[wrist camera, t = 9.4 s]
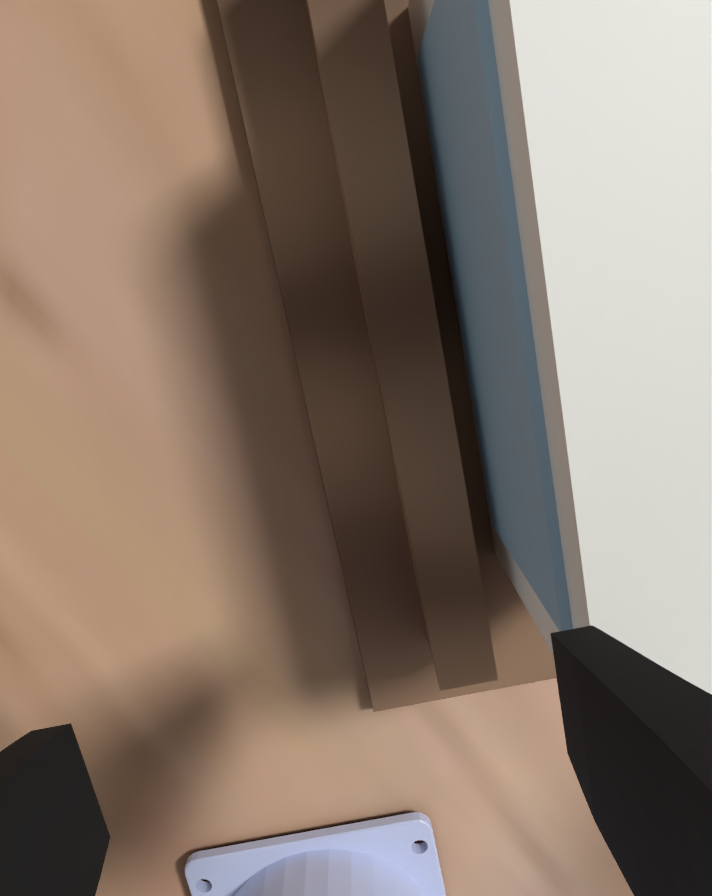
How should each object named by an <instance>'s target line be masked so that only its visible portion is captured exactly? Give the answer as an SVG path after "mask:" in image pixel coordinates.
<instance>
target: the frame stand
mask: <svg viewBox="0 0 712 896" xmlns="http://www.w3.org/2000/svg"><path fill="white" fill-rule="evenodd" d="M408 3H409V0H217V4H218V9H219V13H220V18H221V22H222V27H223V31H224V36H225V40H226V45H227V49H228V54H229V59H230V63H231V68H232V72H233V77H234V81H235V86H236V90H237V95H238V99H239V104H240V108H241V113H242V117H243V122H244V126H245V131H246V135H247V140H248V145H249V149H250V154H251V158H252V163H253V167H254V172H255V176H256V181H257V185H258V190H259V194H260V199H261V203H262V208H263V212H264V217H265V222H266V226H267V231H268V235H269V240H270V244H271V249H272V253H273V258H274V262H275V267H276V271H277V276H278V280H279V285H280V289H281V294H282V298H283V303H284V308H285V312H286V317H287V321H288V326H289V330H290V335H291V339H292V344H293V348H294V353H295V357H296V362H297V366H298V371H299V375H300V380H301V384H302V389H303V394H304V398H305V403H306V407H307V412H308V416H309V421H310V425H311V430H312V434H313V439H314V443H315V448H316V452H317V457H318V461H319V466H320V471H321V475H322V480H323V484H324V489H325V493H326V498H327V502H328V507H329V511H330V516H331V520H332V525H333V529H334V534H335V538H336V543H337V547H338V552H339V557H340V561H341V566H342V570H343V575H344V579H345V584H346V588H347V593H348V597H349V602H350V606H351V611H352V615H353V620H354V624H355V629H356V633H357V638H358V643H359V647H360V652H361V656H362V661H363V665H364V670H365V674H366V679H367V683H368V688H369V692H370V697H371V701H372V706H373V710H374V712H375V711H381V710H386V709H391V708H397V707H402V706H407V705H413V704H418V703H423V702H429V701H434V700H440V699H445V698H450V697H456V696H461V695H466V694H472V693H477V692H482V691H488V690H493V689H499V688H504V687H509V686H515V685H520V684H525V683H531V682H536V681H542V680H547V679H552V678H557V675H556V668H555V662H554V655H553V654H552V652H551V650H550V648H549V647H548V645H547V643H546V641H545V640H544V638H543V636H542V634H541V633H540V631H539V629H538V627H537V626H536V624H535V622H534V620H533V619H532V617H531V615H530V614H529V612H528V610H527V608H526V607H525V605H524V603H523V601H522V600H521V598H520V596H519V594H518V593H517V591H516V589H515V587H514V586H513V584H512V582H511V580H510V579H509V577H508V575H507V574H506V572H505V570H504V568H503V567H502V565H501V563H500V561H499V560H498V558H497V556H496V553H495V546H494V540H493V534H492V528H491V522H490V515H489V509H488V503H487V497H486V490H485V484H484V478H483V472H482V466H481V459H480V453H479V447H478V441H477V435H476V428H475V422H474V416H473V410H472V404H471V397H470V391H469V385H468V379H467V372H466V366H465V360H464V354H463V348H462V341H461V335H460V329H459V323H458V317H457V310H456V304H455V298H454V292H453V286H452V279H451V273H450V267H449V261H448V254H447V248H446V242H445V236H444V230H443V223H442V217H441V211H440V205H439V199H438V192H437V186H436V180H435V174H434V168H433V161H432V155H431V149H430V143H429V136H428V130H427V124H426V118H425V112H424V105H423V99H422V93H421V87H420V81H419V74H418V68H417V62H416V56H415V50H414V43H413V37H412V31H411V25H410V18H409V12H408Z"/></svg>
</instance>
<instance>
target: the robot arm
mask: <svg viewBox="0 0 712 896" xmlns="http://www.w3.org/2000/svg"><path fill="white" fill-rule="evenodd" d="M550 634H551V641H552V648H553V655H554V662H555V668H556V675H557V682H558V689H559V696H560V703H561V710H562V717H563V724H564V731H565V738H566V745H567V752H568V755H569V758H570V760H571V763H572V765H573V768H574V770H575V773H576V776H577V778H578V781H579V783H580V786H581V788H582V791H583V793H584V796H585V798H586V801H587V803H588V806H589V808H590V810H591V813H592V815H593V818H594V820H595V822H596V824H597V826H598V828H599V830H600V832H601V834H602V836H603V838H604V840H605V842H606V843H607V845H608V847H609V849H610V851H611V853H612V855H613V857H614V859H615V860H616V862H617V864H618V866H619V868H620V870H621V872H622V874H623V876H624V877H625V879H626V881H627V883H628V885H629V887H630V889H631V891H632V892H633V894H634V896H712V694H710V693H708V692H706V691H704V690H702V689H701V688H699V687H697V686H695V685H693V684H692V683H690V682H688V681H686V680H685V679H683V678H681V677H679V676H677V675H676V674H674V673H672V672H671V671H669V670H667V669H665V668H664V667H662V666H660V665H659V664H657V663H655V662H654V661H652V660H650V659H648V658H647V657H645V656H643V655H642V654H640V653H638V652H637V651H635V650H633V649H632V648H630V647H628V646H627V645H625V644H623V643H622V642H620V641H618V640H617V639H615V638H613V637H612V636H610V635H608V634H607V633H605V632H603V631H602V630H600V629H598V628H596V627H594V626H592V625H591V626H586V627H580V628H575V629H570V630H565V631H559V632H554V633H550ZM109 839H110V835H109V832H108V829H107V826H106V823H105V820H104V818H103V815H102V812H101V809H100V806H99V803H98V800H97V797H96V794H95V792H94V789H93V786H92V783H91V780H90V777H89V774H88V771H87V768H86V766H85V763H84V760H83V757H82V754H81V751H80V748H79V745H78V742H77V740H76V737H75V734H74V731H73V728H72V725H71V724H66V725H61V726H55V727H50V728H45V729H39V730H34V731H31V732H29V733H28V734H26V735H24V736H23V737H21V738H20V739H18V740H17V741H15V742H14V743H12V744H11V745H9V746H8V747H7V748H5V749H4V750H2V751H1V752H0V896H95V893H96V890H97V886H98V883H99V879H100V876H101V872H102V867H103V863H104V859H105V855H106V851H107V847H108V843H109ZM417 840H423V841H424V842H423V843H420V844H415V843H414V842H415V841H417ZM185 877H186V880H187V883H188V886H189V889H190V892H191V896H446V892H445V888H444V883H443V878H442V873H441V868H440V863H439V859H438V854H437V849H436V844H435V839H434V834H433V830H432V825H431V821H430V819H429V818H428V817H427V816H426V815H425V814H422V813H419V812H412V813H407V814H401V815H396V816H390V817H385V818H379V819H374V820H368V821H363V822H357V823H352V824H346V825H341V826H335V827H330V828H324V829H319V830H313V831H308V832H302V833H297V834H291V835H286V836H280V837H275V838H269V839H264V840H258V841H253V842H247V843H242V844H236V845H231V846H225V847H220V848H214V849H209V850H203V851H198V852H195V853H193V854H191V855H190V856H189V857H188V860H187V862H186V866H185ZM201 879H206V880H208V881H209V882H204V881H202V880H201Z"/></svg>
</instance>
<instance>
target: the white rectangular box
mask: <svg viewBox="0 0 712 896" xmlns="http://www.w3.org/2000/svg"><path fill="white" fill-rule="evenodd" d="M408 12H409V18H410V25H411V31H412V37H413V43H414V50H415V56H416V62H417V68H418V74H419V81H420V87H421V93H422V99H423V105H424V112H425V118H426V124H427V130H428V136H429V143H430V149H431V155H432V161H433V168H434V174H435V180H436V186H437V192H438V199H439V205H440V211H441V217H442V223H443V230H444V236H445V242H446V248H447V254H448V261H449V267H450V273H451V279H452V286H453V292H454V298H455V304H456V310H457V317H458V323H459V329H460V335H461V341H462V348H463V354H464V360H465V366H466V372H467V379H468V385H469V391H470V397H471V404H472V410H473V416H474V422H475V428H476V435H477V441H478V447H479V453H480V459H481V466H482V472H483V478H484V484H485V490H486V497H487V503H488V509H489V515H490V522H491V528H492V534H493V540H494V546H495V553H496V556H497V558H498V560H499V561H500V563H501V565H502V567H503V568H504V570H505V572H506V574H507V575H508V577H509V579H510V580H511V582H512V584H513V586H514V587H515V589H516V591H517V593H518V594H519V596H520V598H521V600H522V601H523V603H524V605H525V607H526V608H527V610H528V612H529V614H530V615H531V617H532V619H533V620H534V622H535V624H536V626H537V627H538V629H539V631H540V633H541V634H542V636H543V638H544V640H545V641H546V643H547V645H548V647H549V648H550V650H551V652H552V654H553V648H552V641H551V634H550V633H554V632H559V631H565V630H570V629H575V628H580V627H586V626H591V625H592V626H594V627H596V628H598V629H600V630H602V631H603V632H605V633H607V634H608V635H610V636H612V637H613V638H615V639H617V640H618V641H620V642H622V643H623V644H625V645H627V646H628V647H630V648H632V649H633V650H635V651H637V652H638V653H640V654H642V655H643V656H645V657H647V658H648V659H650V660H652V661H654V662H655V663H657V664H659V665H660V666H662V667H664V668H665V669H667V670H669V671H671V672H672V673H674V674H676V675H677V676H679V677H681V678H683V679H685V680H686V681H688V682H690V683H692V684H693V685H695V686H697V687H699V688H701V689H702V690H704V691H706V692H708V693H710V694H712V0H409V3H408Z"/></svg>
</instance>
